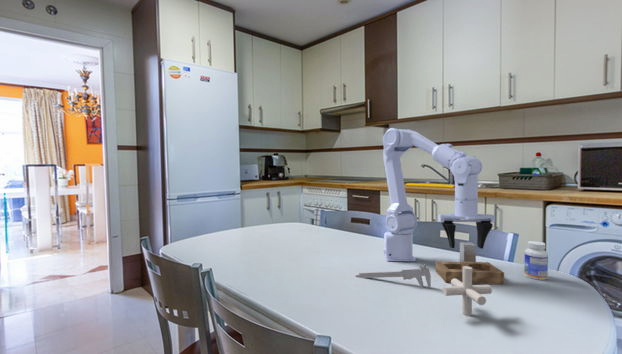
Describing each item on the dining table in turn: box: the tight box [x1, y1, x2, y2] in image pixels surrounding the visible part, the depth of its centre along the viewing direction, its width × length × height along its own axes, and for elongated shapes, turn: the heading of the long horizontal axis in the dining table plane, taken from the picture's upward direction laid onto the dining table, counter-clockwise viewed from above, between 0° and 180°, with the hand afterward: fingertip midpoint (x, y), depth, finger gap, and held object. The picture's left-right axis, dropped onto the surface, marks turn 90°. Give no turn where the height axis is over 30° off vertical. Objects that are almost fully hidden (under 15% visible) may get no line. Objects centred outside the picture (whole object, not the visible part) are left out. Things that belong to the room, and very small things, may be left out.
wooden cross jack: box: [441, 266, 493, 317], centre depth 67 cm, size 10×10×10 cm
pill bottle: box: [523, 240, 549, 281], centre depth 88 cm, size 5×5×10 cm
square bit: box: [459, 241, 477, 262], centre depth 99 cm, size 4×4×7 cm
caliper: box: [354, 263, 432, 289], centre depth 86 cm, size 20×1×6 cm, turn 63°
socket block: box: [435, 260, 505, 285], centre depth 89 cm, size 15×9×3 cm, turn 85°
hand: (466, 247), depth 88 cm, fingers open, 7 cm apart
